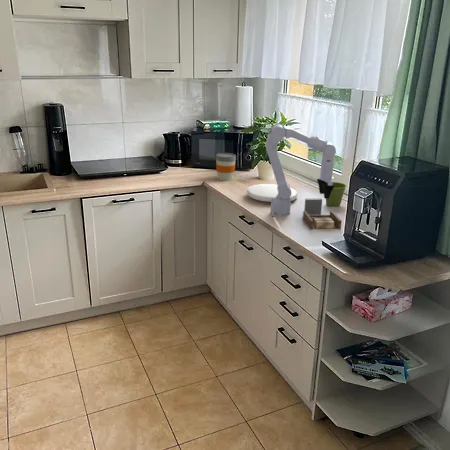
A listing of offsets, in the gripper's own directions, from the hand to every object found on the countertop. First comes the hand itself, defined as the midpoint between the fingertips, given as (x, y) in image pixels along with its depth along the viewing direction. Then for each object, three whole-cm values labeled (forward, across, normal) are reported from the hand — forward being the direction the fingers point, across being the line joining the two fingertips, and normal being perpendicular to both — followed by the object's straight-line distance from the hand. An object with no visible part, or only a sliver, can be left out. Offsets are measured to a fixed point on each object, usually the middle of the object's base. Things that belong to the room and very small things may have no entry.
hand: (324, 195), depth 226 cm
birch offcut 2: (+10, -18, +4) cm, 21 cm away
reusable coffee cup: (+10, +71, +41) cm, 83 cm away
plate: (+11, +31, +19) cm, 38 cm away
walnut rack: (+10, -13, +4) cm, 17 cm away
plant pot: (+11, +17, -11) cm, 23 cm away
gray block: (+10, +2, +5) cm, 11 cm away
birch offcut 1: (+10, -15, +4) cm, 18 cm away
